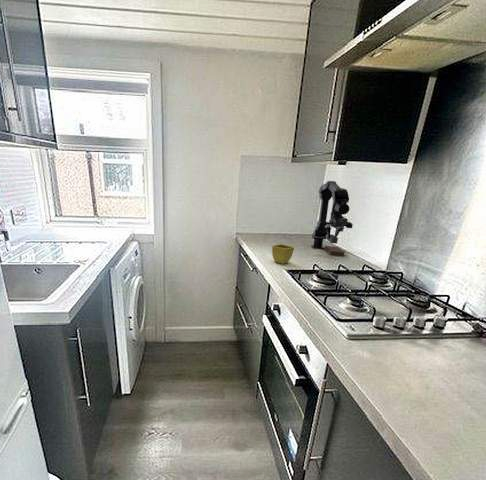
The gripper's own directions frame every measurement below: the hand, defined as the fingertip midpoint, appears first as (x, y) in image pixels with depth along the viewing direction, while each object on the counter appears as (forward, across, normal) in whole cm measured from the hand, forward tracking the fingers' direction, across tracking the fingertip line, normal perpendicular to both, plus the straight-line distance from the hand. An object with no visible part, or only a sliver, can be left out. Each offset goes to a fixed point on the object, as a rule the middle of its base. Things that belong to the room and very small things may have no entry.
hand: (331, 238), depth 177 cm
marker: (+2, 0, 0) cm, 2 cm away
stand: (+11, +7, +12) cm, 18 cm away
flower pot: (+11, -31, -18) cm, 38 cm away
